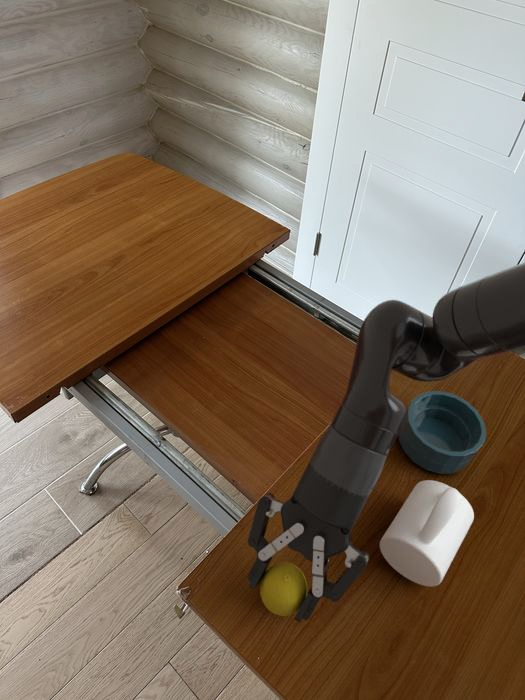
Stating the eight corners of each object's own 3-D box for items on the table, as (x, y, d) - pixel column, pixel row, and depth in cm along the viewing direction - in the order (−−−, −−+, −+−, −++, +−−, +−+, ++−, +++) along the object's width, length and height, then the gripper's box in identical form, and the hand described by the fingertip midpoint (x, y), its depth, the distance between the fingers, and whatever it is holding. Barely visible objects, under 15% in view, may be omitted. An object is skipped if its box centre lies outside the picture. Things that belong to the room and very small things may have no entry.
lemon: (253, 616, 62) (257, 595, 56) (264, 570, 66) (269, 546, 60) (298, 629, 61) (307, 610, 55) (306, 582, 65) (315, 559, 59)
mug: (372, 553, 68) (396, 514, 59) (407, 498, 74) (434, 454, 65) (428, 595, 65) (462, 561, 56) (461, 534, 71) (497, 494, 62)
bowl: (484, 447, 81) (500, 426, 76) (442, 491, 75) (457, 470, 71) (425, 401, 86) (437, 379, 82) (382, 439, 80) (392, 417, 76)
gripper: (276, 446, 56) (211, 578, 58) (397, 517, 52) (324, 658, 54) (294, 438, 63) (236, 556, 65) (402, 500, 59) (337, 624, 61)
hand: (276, 601), depth 59 cm, fingers closed on lemon, 5 cm apart
